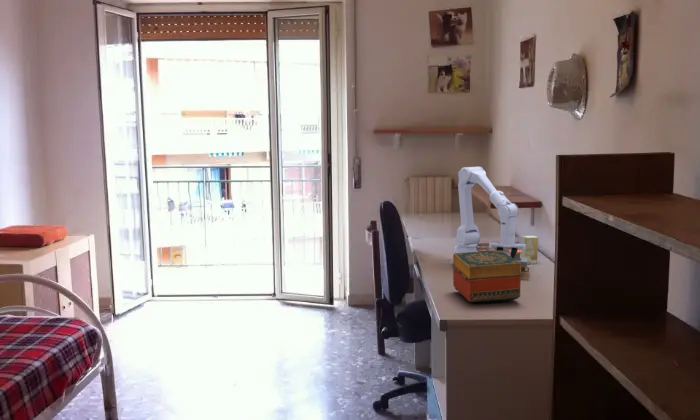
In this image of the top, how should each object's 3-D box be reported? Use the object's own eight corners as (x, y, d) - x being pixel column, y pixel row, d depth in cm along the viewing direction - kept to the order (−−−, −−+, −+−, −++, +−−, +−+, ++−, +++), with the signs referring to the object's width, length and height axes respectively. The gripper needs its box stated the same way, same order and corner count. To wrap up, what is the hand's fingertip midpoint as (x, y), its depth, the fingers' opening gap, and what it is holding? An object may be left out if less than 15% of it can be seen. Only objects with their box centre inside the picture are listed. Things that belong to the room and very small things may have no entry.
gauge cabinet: (502, 271, 259) (502, 260, 258) (503, 267, 267) (503, 256, 266) (526, 273, 256) (527, 261, 255) (527, 269, 264) (527, 258, 263)
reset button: (508, 262, 259) (508, 251, 258) (509, 259, 264) (509, 249, 263) (521, 263, 258) (521, 252, 257) (521, 260, 262) (522, 249, 262)
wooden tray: (475, 276, 251) (475, 268, 251) (478, 270, 262) (478, 262, 261) (528, 280, 245) (528, 271, 244) (529, 274, 255) (529, 265, 255)
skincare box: (525, 264, 273) (526, 237, 272) (520, 262, 277) (521, 235, 276) (537, 263, 275) (538, 236, 273) (532, 261, 279) (533, 235, 278)
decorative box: (505, 292, 230) (503, 249, 230) (524, 303, 209) (522, 255, 208) (452, 295, 230) (450, 252, 229) (465, 307, 208) (462, 259, 207)
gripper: (488, 233, 249) (487, 266, 251) (525, 235, 244) (524, 268, 246) (490, 231, 255) (489, 262, 257) (526, 232, 251) (524, 265, 253)
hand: (506, 265), depth 252 cm, fingers closed on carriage, 3 cm apart
